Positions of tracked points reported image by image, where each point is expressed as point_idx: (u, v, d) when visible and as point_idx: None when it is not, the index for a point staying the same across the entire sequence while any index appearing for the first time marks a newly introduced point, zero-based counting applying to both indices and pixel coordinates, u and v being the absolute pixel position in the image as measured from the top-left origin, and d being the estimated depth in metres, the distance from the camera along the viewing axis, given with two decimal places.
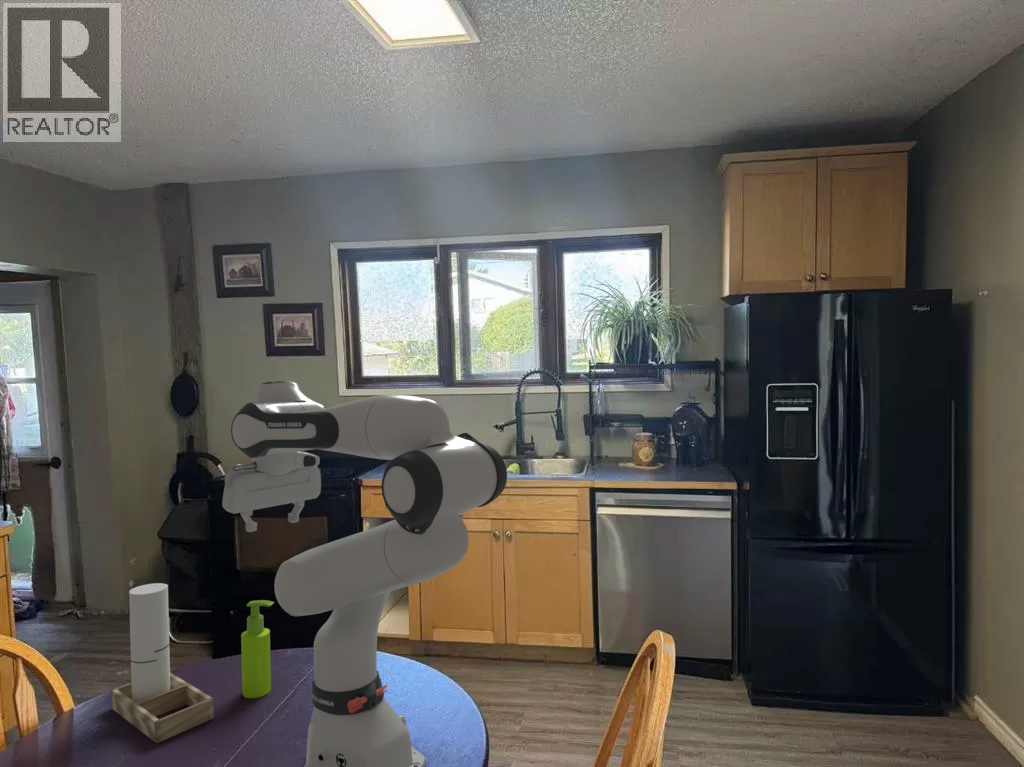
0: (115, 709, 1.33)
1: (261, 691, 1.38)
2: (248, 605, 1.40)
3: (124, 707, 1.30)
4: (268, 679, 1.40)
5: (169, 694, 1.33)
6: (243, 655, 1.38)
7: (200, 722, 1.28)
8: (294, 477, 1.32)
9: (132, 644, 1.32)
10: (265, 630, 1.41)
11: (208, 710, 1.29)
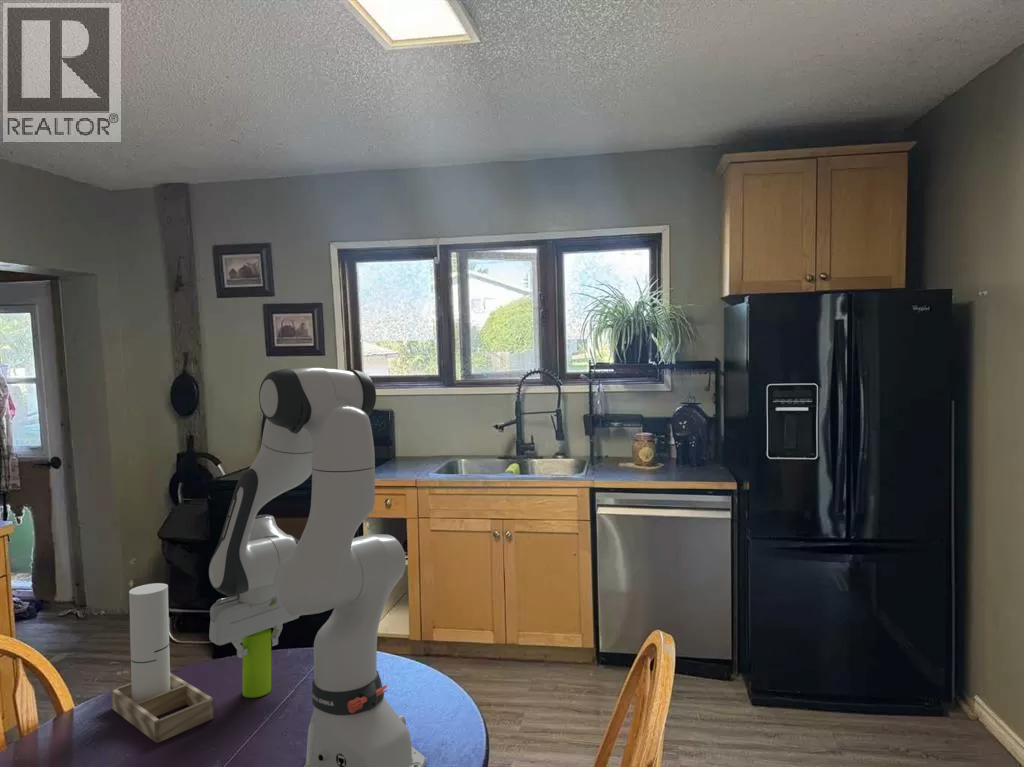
0: (115, 709, 1.33)
1: (261, 690, 1.38)
2: None
3: (124, 707, 1.30)
4: (268, 679, 1.40)
5: (169, 694, 1.33)
6: None
7: (200, 722, 1.28)
8: None
9: (132, 644, 1.32)
10: (266, 629, 1.41)
11: (208, 710, 1.29)
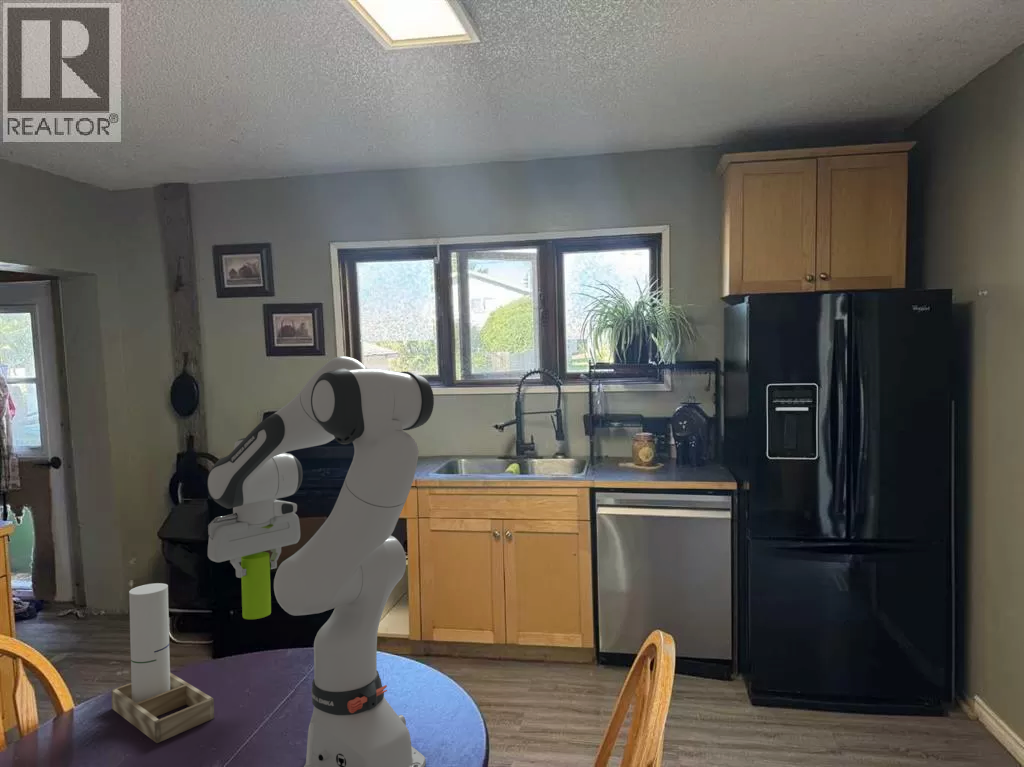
0: (115, 709, 1.33)
1: (261, 612, 1.38)
2: None
3: (124, 707, 1.30)
4: (268, 601, 1.40)
5: (169, 694, 1.33)
6: None
7: (200, 722, 1.28)
8: (274, 524, 1.42)
9: (132, 644, 1.32)
10: (265, 553, 1.41)
11: (208, 710, 1.29)
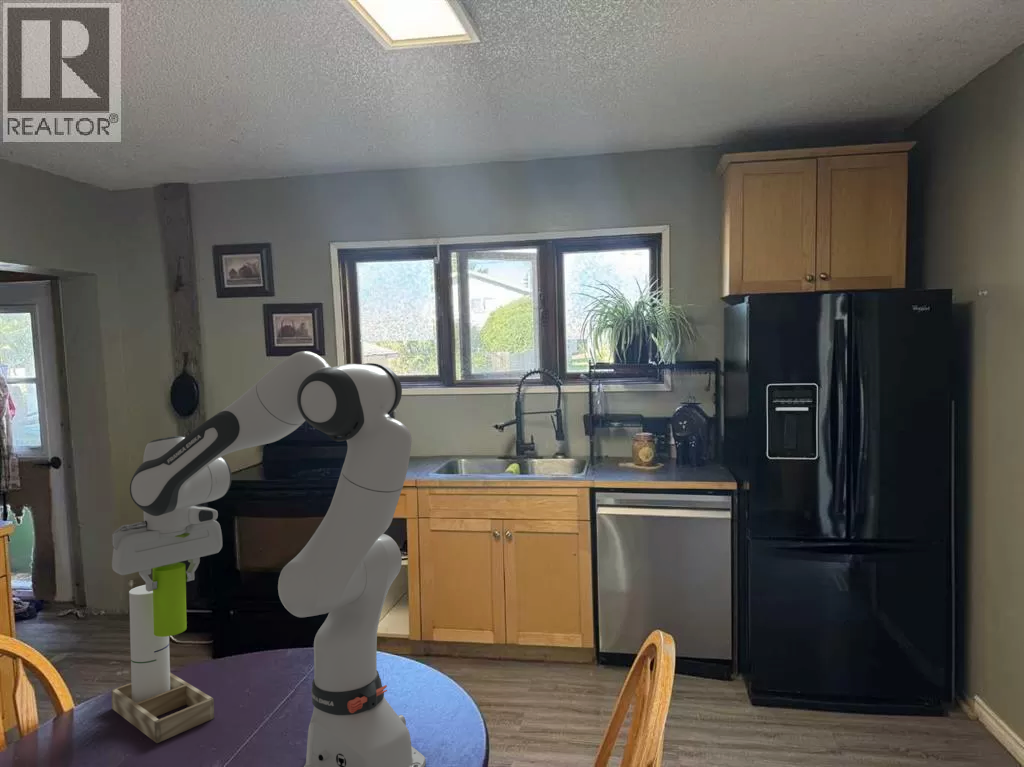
0: (115, 709, 1.33)
1: (174, 629, 1.27)
2: None
3: (124, 707, 1.30)
4: (182, 617, 1.28)
5: (169, 694, 1.33)
6: (154, 590, 1.27)
7: (200, 722, 1.28)
8: (191, 533, 1.30)
9: (132, 644, 1.32)
10: (180, 564, 1.30)
11: (208, 710, 1.29)
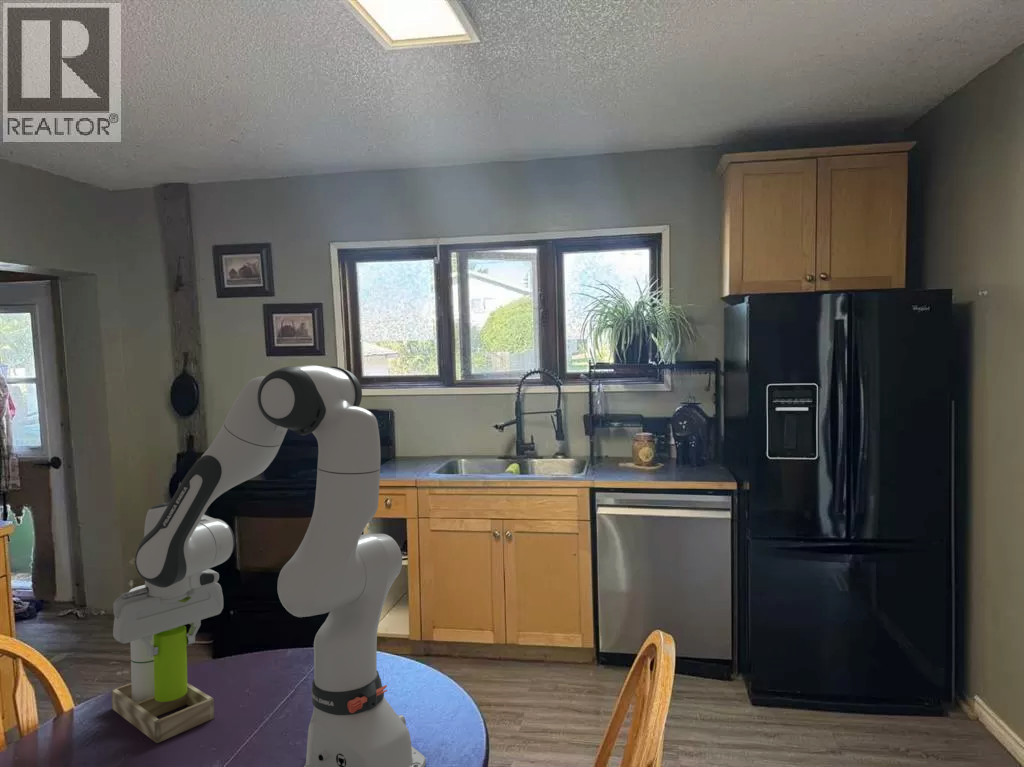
0: (115, 709, 1.33)
1: (174, 694, 1.27)
2: None
3: (124, 707, 1.30)
4: (183, 681, 1.29)
5: None
6: None
7: (200, 722, 1.28)
8: (192, 596, 1.30)
9: (132, 644, 1.32)
10: (181, 628, 1.30)
11: (208, 710, 1.29)
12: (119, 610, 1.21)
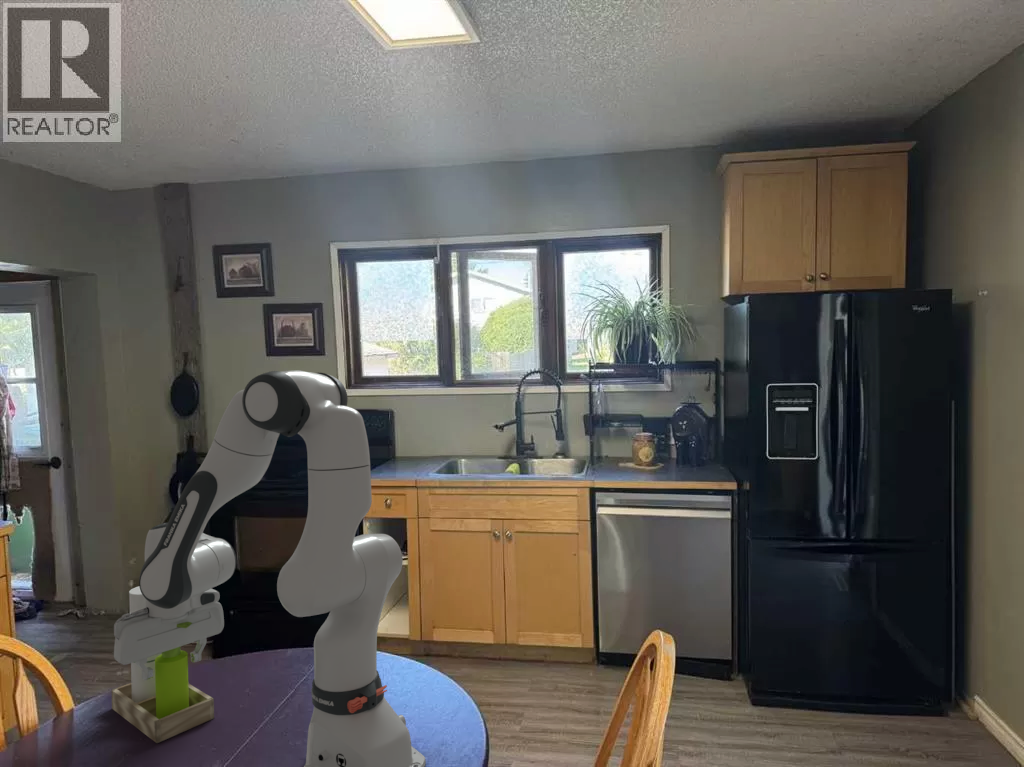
0: (115, 709, 1.33)
1: None
2: None
3: (124, 707, 1.30)
4: (185, 707, 1.29)
5: None
6: (156, 681, 1.27)
7: (200, 722, 1.28)
8: (192, 616, 1.31)
9: None
10: (182, 653, 1.30)
11: (208, 710, 1.29)
12: (120, 631, 1.21)
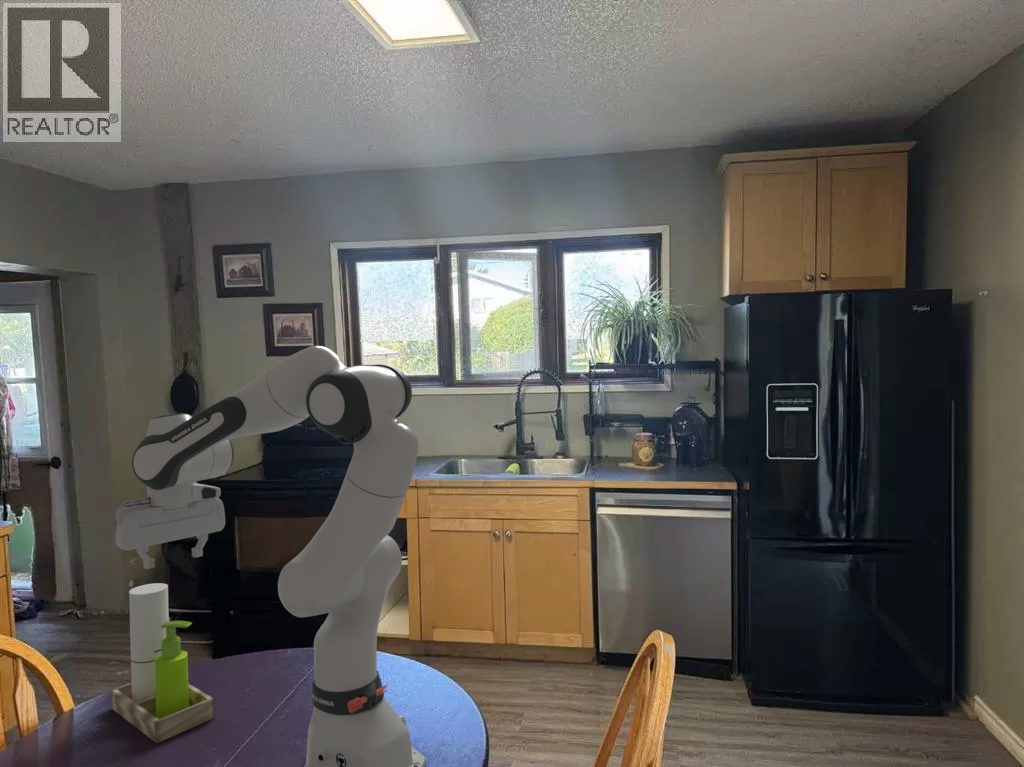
0: (115, 709, 1.33)
1: None
2: (162, 626, 1.28)
3: (124, 707, 1.30)
4: (185, 707, 1.29)
5: None
6: (156, 681, 1.27)
7: (200, 722, 1.28)
8: (194, 510, 1.31)
9: (132, 644, 1.32)
10: (182, 653, 1.30)
11: (208, 710, 1.29)
12: (121, 517, 1.21)
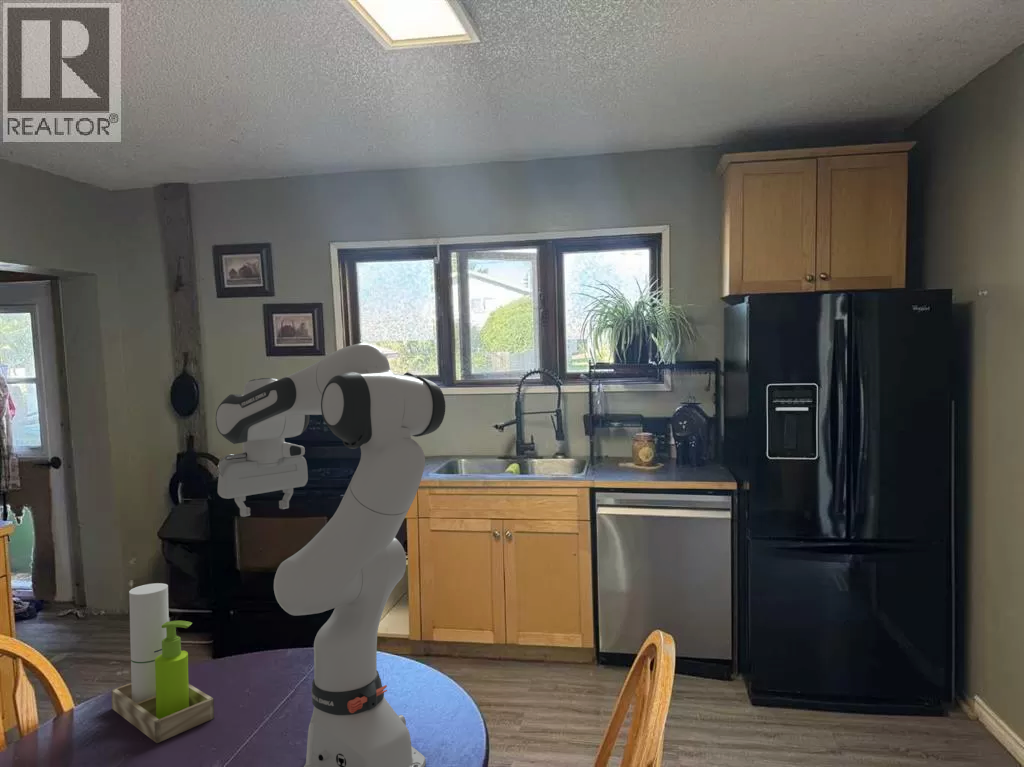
0: (115, 709, 1.33)
1: None
2: (163, 626, 1.28)
3: (124, 707, 1.30)
4: (185, 707, 1.29)
5: None
6: (157, 681, 1.27)
7: (200, 722, 1.28)
8: (282, 466, 1.45)
9: (132, 644, 1.32)
10: (182, 653, 1.30)
11: (208, 710, 1.29)
12: (223, 469, 1.35)
